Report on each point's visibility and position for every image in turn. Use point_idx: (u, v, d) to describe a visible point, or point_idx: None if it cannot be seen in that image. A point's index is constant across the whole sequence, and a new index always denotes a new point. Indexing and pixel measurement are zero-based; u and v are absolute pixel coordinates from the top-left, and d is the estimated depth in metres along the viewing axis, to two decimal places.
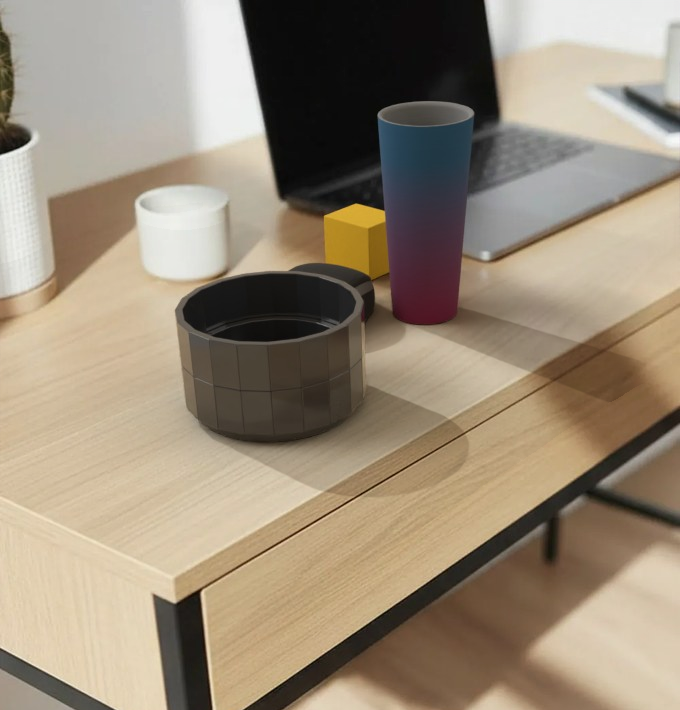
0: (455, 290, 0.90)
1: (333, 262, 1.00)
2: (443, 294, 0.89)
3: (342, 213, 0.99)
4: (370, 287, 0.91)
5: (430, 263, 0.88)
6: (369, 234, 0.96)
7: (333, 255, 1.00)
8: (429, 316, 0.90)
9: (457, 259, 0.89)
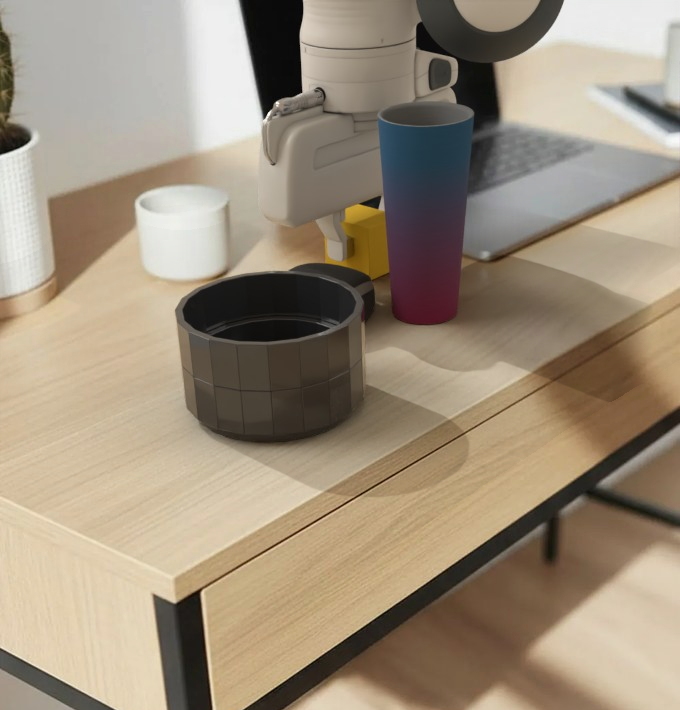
0: (455, 290, 0.90)
1: (333, 262, 1.00)
2: (443, 294, 0.89)
3: None
4: (370, 287, 0.91)
5: (430, 263, 0.88)
6: (369, 234, 0.96)
7: None
8: (429, 316, 0.90)
9: (457, 259, 0.89)
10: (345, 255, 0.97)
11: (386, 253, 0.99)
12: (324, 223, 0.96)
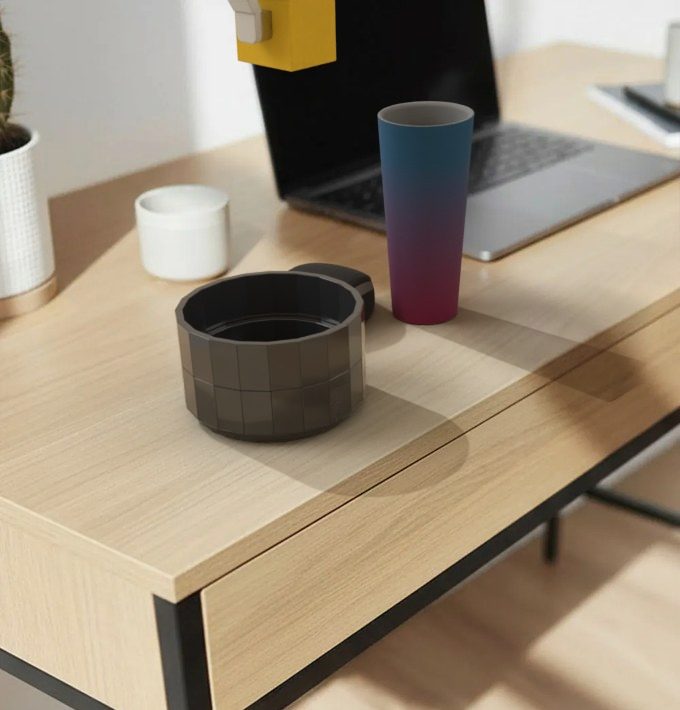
0: (455, 290, 0.90)
1: (246, 52, 0.76)
2: (443, 294, 0.89)
3: None
4: (370, 287, 0.91)
5: (430, 263, 0.88)
6: (290, 2, 0.72)
7: None
8: (429, 316, 0.90)
9: (457, 259, 0.89)
10: (259, 34, 0.73)
11: (315, 36, 0.74)
12: None
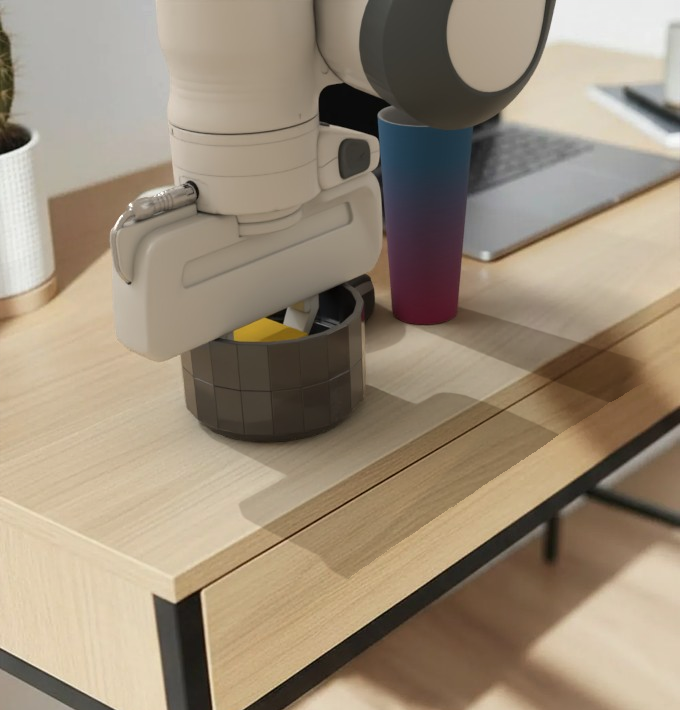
0: (455, 290, 0.90)
1: None
2: (443, 294, 0.89)
3: None
4: (370, 287, 0.91)
5: (430, 263, 0.88)
6: None
7: None
8: (429, 316, 0.90)
9: (457, 259, 0.89)
10: None
11: None
12: None
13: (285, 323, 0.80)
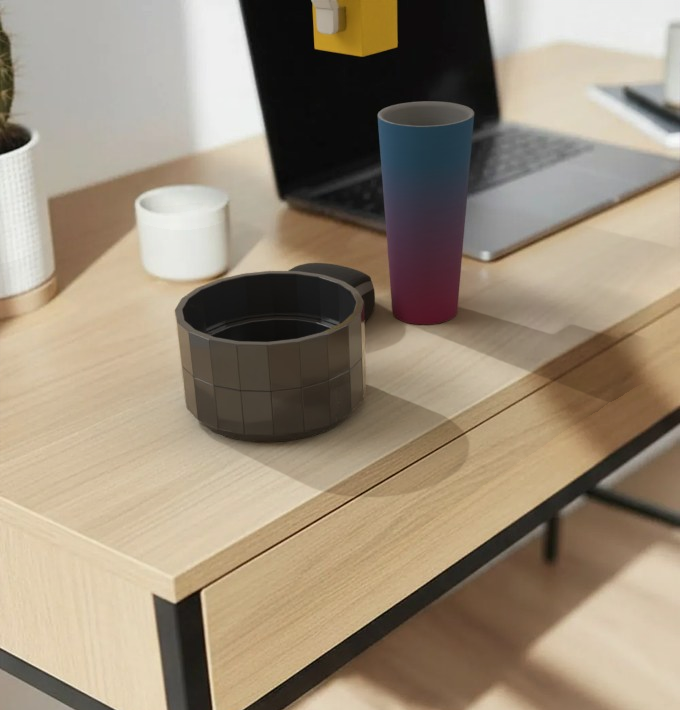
0: (455, 290, 0.90)
1: (322, 41, 0.91)
2: (443, 294, 0.89)
3: None
4: (370, 287, 0.91)
5: (430, 263, 0.88)
6: None
7: None
8: (429, 316, 0.90)
9: (457, 259, 0.89)
10: (336, 26, 0.88)
11: (381, 26, 0.89)
12: None
13: None
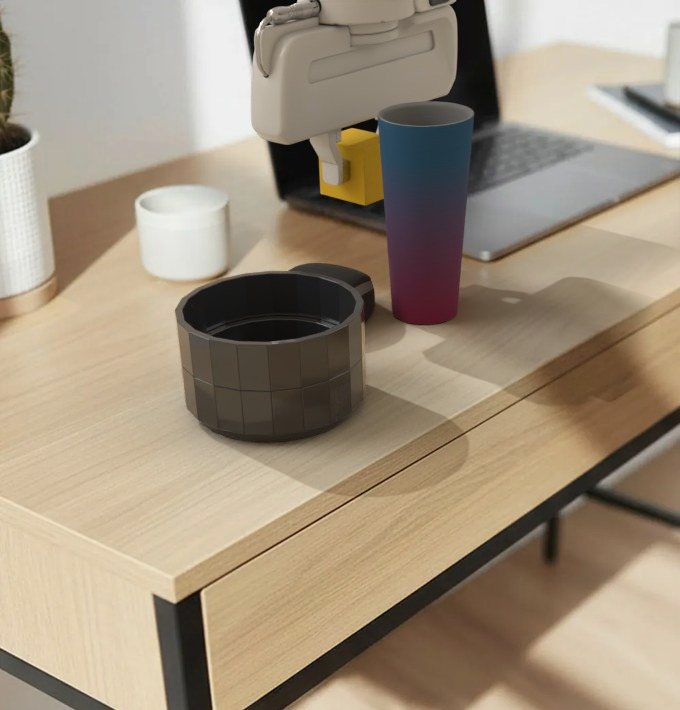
0: (455, 290, 0.90)
1: (328, 188, 0.97)
2: (443, 294, 0.89)
3: None
4: (370, 287, 0.91)
5: (430, 263, 0.88)
6: (365, 155, 0.93)
7: None
8: (429, 316, 0.90)
9: (457, 259, 0.89)
10: (341, 179, 0.94)
11: None
12: (319, 144, 0.92)
13: None
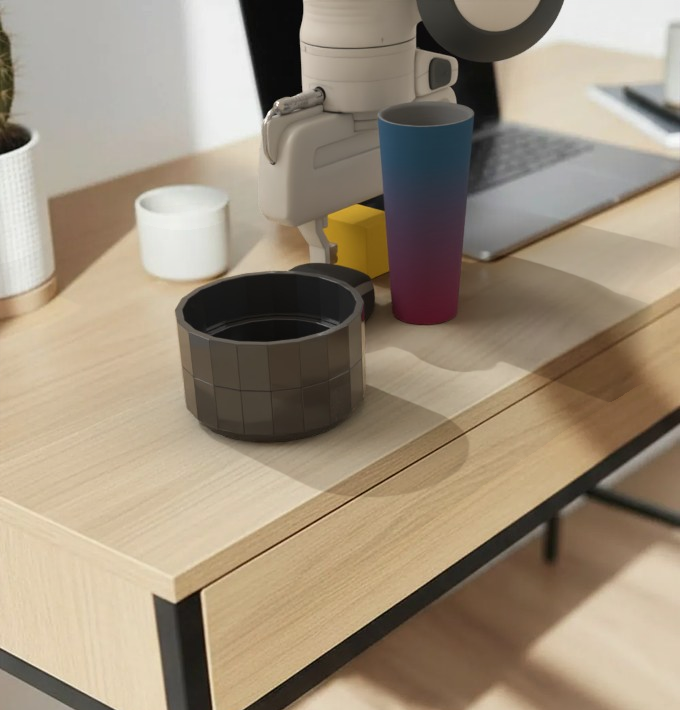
0: (455, 290, 0.90)
1: None
2: (443, 294, 0.89)
3: (340, 213, 0.99)
4: (370, 287, 0.91)
5: (430, 263, 0.88)
6: (367, 233, 0.96)
7: None
8: (429, 316, 0.90)
9: (457, 259, 0.89)
10: (328, 262, 0.96)
11: (384, 253, 0.99)
12: (306, 229, 0.94)
13: None
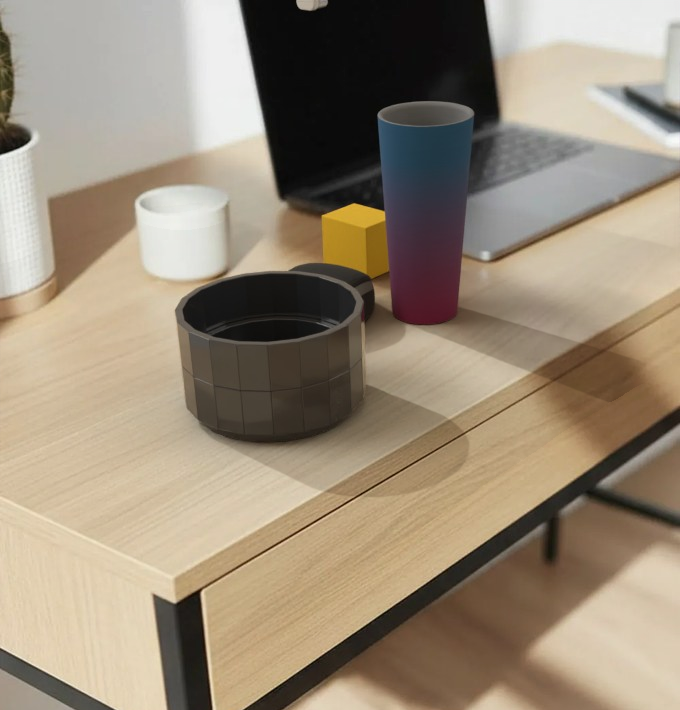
0: (455, 290, 0.90)
1: (331, 262, 1.00)
2: (443, 294, 0.89)
3: (340, 213, 0.99)
4: (370, 287, 0.91)
5: (430, 263, 0.88)
6: (367, 233, 0.96)
7: (331, 255, 1.00)
8: (429, 316, 0.90)
9: (457, 259, 0.89)
10: (316, 2, 0.86)
11: (384, 253, 0.99)
12: None
13: None
